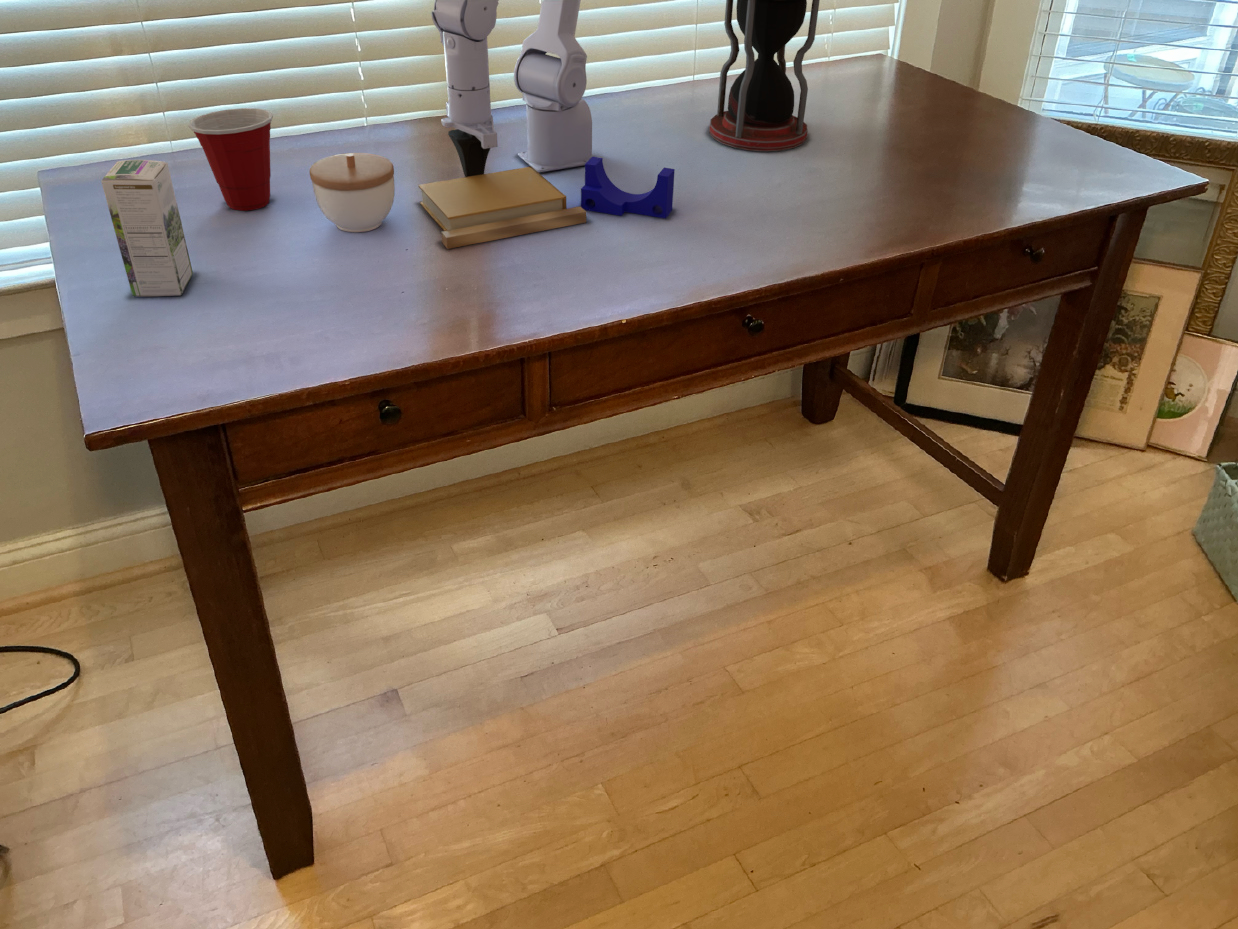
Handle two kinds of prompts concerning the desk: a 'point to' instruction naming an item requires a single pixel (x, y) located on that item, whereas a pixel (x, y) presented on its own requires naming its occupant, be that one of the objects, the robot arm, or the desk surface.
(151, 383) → the desk surface
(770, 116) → the hourglass
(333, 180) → the trinket box
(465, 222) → the book
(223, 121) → the plastic cup
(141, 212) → the syrup box
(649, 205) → the blue cradle bracket
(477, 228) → the rail
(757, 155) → the desk surface
